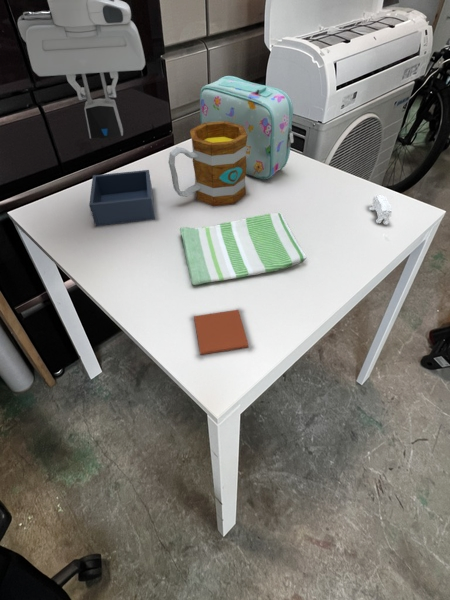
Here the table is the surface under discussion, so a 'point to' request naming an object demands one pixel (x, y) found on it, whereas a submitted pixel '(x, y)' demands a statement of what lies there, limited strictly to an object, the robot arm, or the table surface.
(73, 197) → the table surface
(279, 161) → the lunch box
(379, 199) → the figurine
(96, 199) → the basket
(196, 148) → the mug
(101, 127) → the padlock
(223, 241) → the dish towel
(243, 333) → the mat
